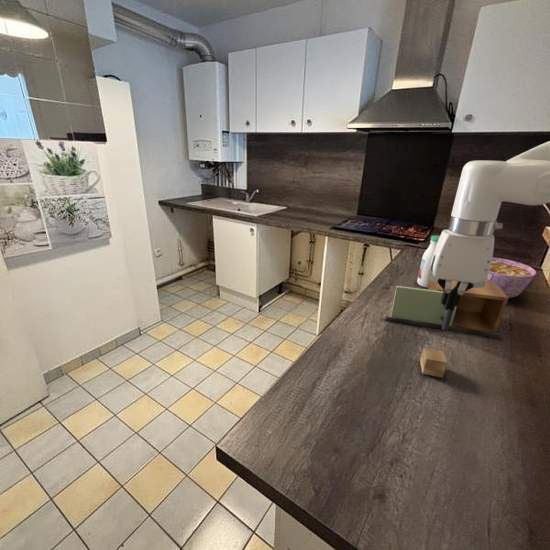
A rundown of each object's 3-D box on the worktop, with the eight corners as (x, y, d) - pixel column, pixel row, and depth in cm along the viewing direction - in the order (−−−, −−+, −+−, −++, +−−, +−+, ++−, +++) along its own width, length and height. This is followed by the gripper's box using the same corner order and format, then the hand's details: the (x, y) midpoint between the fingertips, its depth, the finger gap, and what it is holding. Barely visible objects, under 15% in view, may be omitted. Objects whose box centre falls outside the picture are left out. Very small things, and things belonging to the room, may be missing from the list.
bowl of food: (466, 301, 105) (475, 271, 100) (457, 280, 122) (464, 254, 118) (534, 311, 98) (547, 280, 94) (514, 288, 115) (524, 260, 111)
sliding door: (450, 326, 89) (459, 293, 85) (455, 338, 83) (465, 304, 79) (390, 317, 94) (396, 285, 89) (391, 328, 88) (398, 295, 83)
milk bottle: (441, 285, 117) (453, 237, 109) (431, 290, 113) (443, 240, 105) (423, 279, 123) (433, 233, 115) (412, 283, 119) (422, 235, 111)
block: (439, 365, 73) (443, 351, 71) (443, 377, 69) (447, 362, 67) (419, 362, 74) (423, 347, 72) (422, 373, 70) (426, 358, 68)
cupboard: (482, 314, 96) (493, 281, 92) (498, 338, 84) (512, 301, 79) (384, 300, 105) (389, 269, 100) (385, 320, 93) (391, 286, 88)
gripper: (506, 225, 59) (480, 305, 66) (426, 220, 63) (410, 295, 70) (523, 235, 53) (492, 321, 60) (431, 228, 57) (413, 310, 64)
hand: (447, 307), depth 65 cm, fingers closed
